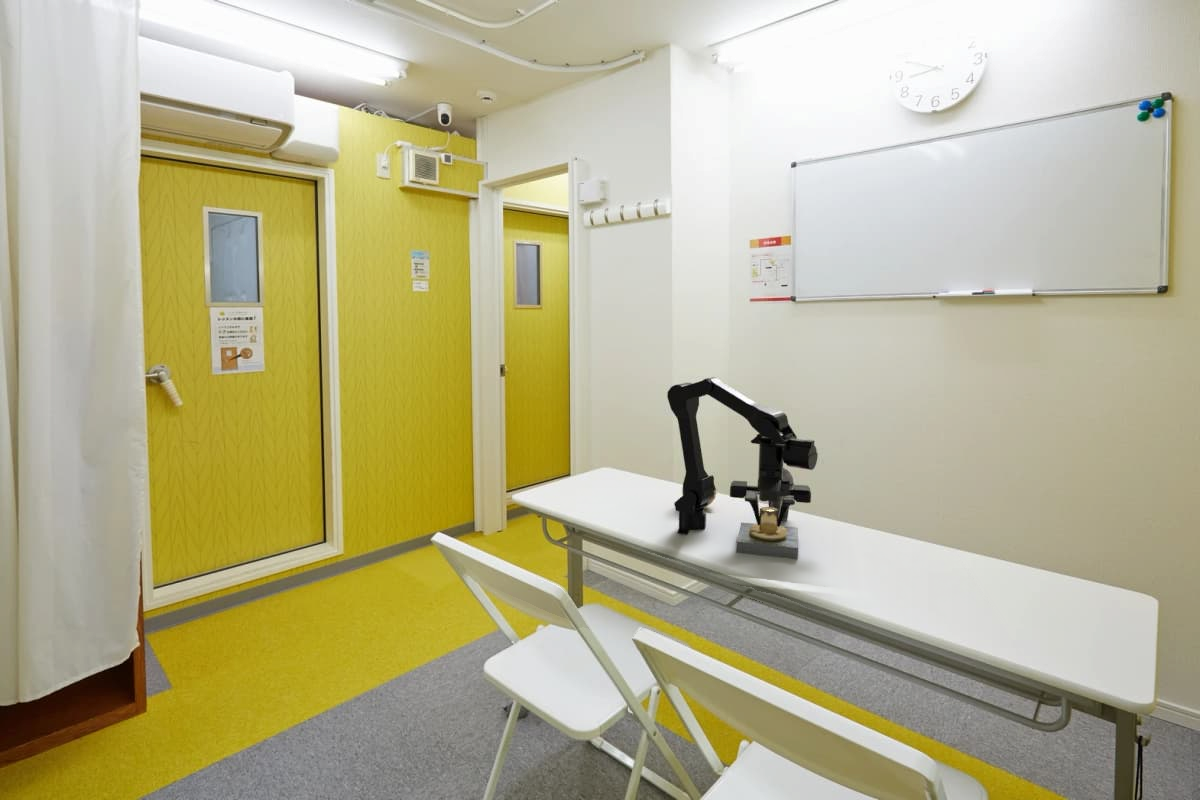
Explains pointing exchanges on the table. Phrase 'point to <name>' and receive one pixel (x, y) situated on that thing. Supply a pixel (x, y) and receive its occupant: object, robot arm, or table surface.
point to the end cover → (768, 526)
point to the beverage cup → (786, 477)
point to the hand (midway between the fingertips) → (768, 525)
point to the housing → (768, 544)
